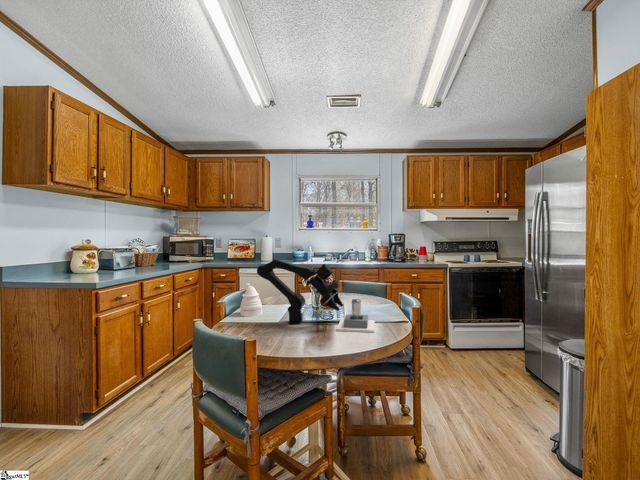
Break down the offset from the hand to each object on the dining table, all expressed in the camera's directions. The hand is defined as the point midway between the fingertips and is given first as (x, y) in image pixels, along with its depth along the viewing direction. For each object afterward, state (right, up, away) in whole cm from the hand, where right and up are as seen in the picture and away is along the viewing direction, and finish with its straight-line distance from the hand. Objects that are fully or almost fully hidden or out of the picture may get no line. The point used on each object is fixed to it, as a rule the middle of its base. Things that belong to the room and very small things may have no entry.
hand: (340, 308), depth 168 cm
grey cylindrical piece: (+8, -8, -2) cm, 11 cm away
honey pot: (-52, -9, +27) cm, 59 cm away
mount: (+8, -9, -2) cm, 12 cm away
